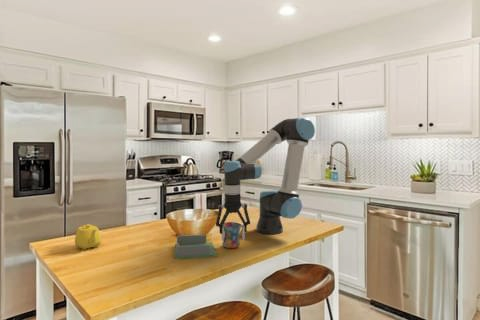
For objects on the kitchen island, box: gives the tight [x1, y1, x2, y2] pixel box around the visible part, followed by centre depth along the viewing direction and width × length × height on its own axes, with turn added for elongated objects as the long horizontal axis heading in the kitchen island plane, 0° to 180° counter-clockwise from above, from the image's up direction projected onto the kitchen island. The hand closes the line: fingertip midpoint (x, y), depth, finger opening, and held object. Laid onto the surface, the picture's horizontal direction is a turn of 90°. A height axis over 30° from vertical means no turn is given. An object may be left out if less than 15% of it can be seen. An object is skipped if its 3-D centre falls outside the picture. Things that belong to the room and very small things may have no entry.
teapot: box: [74, 223, 102, 251], centre depth 153 cm, size 18×11×11 cm, turn 42°
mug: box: [221, 221, 243, 249], centre depth 156 cm, size 12×9×11 cm
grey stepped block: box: [174, 233, 217, 260], centre depth 149 cm, size 18×18×5 cm
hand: (233, 239), depth 156 cm, fingers open, 9 cm apart
